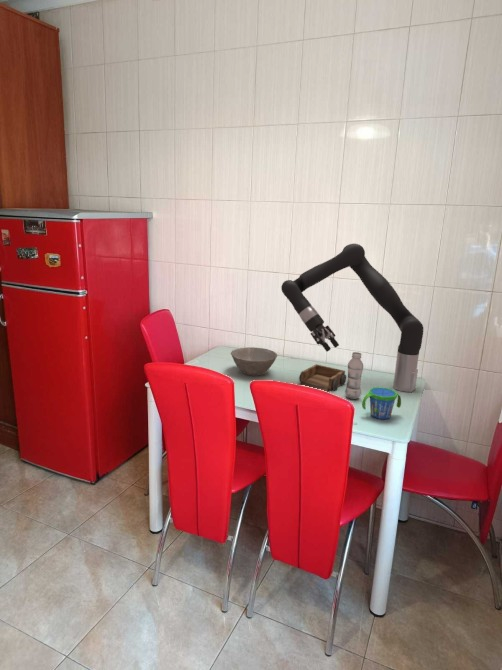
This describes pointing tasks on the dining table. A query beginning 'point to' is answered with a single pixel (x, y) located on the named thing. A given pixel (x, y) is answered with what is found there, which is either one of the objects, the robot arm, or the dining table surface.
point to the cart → (323, 377)
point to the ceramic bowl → (253, 360)
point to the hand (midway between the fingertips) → (333, 348)
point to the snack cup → (381, 402)
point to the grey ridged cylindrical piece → (354, 376)
